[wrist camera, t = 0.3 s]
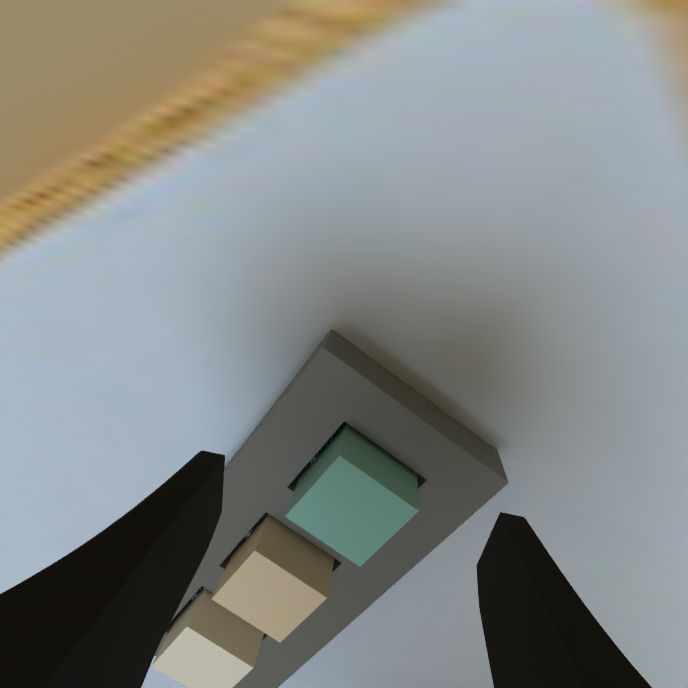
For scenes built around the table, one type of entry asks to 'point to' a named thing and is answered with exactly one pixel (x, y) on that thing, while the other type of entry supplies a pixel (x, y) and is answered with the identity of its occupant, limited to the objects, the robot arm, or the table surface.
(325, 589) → the block
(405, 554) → the keypad
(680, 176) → the table surface
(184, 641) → the key ivory
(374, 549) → the key teal
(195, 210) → the table surface
